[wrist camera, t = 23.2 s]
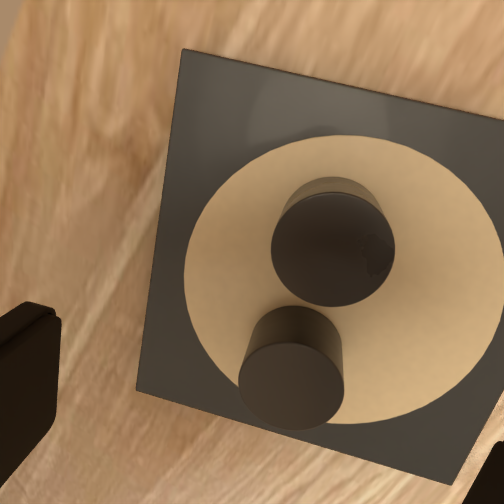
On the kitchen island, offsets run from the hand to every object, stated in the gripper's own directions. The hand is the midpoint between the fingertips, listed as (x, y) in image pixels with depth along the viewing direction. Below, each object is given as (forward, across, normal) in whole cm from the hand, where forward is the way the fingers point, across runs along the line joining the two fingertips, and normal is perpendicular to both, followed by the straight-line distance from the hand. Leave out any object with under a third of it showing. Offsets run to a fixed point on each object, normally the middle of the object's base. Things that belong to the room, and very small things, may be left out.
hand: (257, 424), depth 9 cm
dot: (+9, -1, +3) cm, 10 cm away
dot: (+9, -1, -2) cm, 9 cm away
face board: (+10, -2, +1) cm, 10 cm away
